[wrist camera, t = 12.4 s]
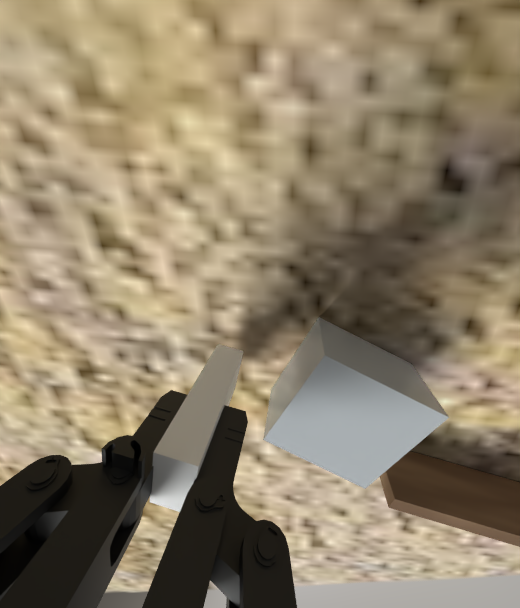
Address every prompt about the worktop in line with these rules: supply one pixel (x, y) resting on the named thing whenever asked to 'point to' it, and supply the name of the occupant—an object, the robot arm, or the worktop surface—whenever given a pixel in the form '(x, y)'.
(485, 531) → the frame
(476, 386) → the worktop surface
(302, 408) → the tile
